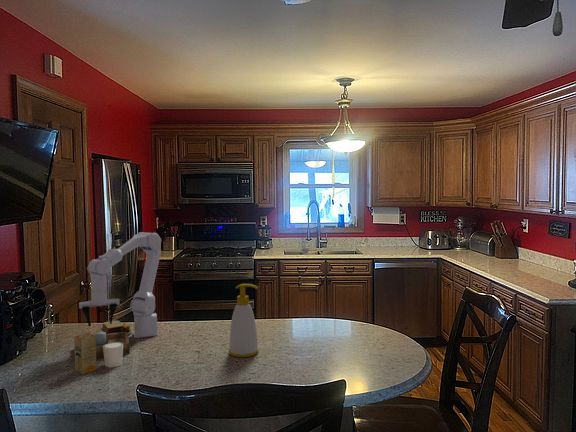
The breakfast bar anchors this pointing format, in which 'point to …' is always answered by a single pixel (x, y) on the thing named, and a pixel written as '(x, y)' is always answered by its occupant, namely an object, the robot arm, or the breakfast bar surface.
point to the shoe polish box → (85, 353)
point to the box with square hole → (115, 337)
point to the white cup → (113, 354)
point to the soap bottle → (243, 327)
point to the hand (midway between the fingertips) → (100, 324)
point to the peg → (100, 338)
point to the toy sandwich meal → (115, 327)
